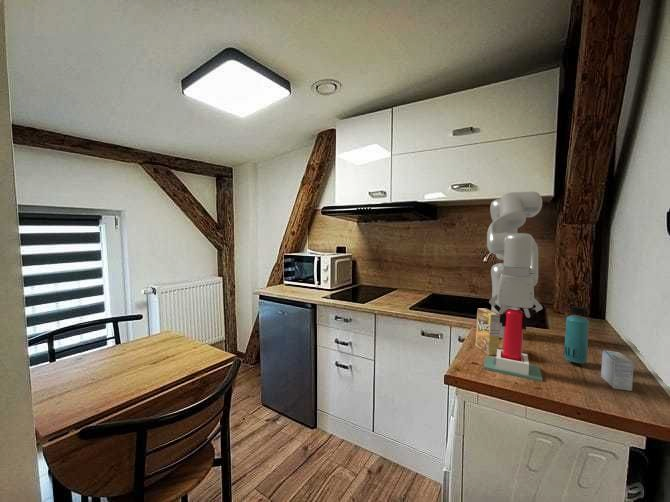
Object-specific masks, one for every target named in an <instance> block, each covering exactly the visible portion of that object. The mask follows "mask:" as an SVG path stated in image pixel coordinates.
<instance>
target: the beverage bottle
mask: <svg viewBox="0 0 670 502" xmlns="http://www.w3.org/2000/svg"><path fill="white" fill-rule="evenodd" d="M570 313H571V314H570V315H569V316H567V317H566V318H565V320H566V321H565V329H564V341H563V342H564V345H563V357H564V359H565V360H567V361H569V362H572V363H575V364H576V363H577V364H586V363H587V360H588V350H589V349H588V348H589V327H590V320H589V319H588V318H586V317H585V316H583V315H587V313H586V308H585V307H583V306H577V305H572V306H570Z"/></svg>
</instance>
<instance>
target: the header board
mask: <svg viewBox="0 0 670 502" xmlns="http://www.w3.org/2000/svg"><path fill="white" fill-rule="evenodd" d="M502 355H503V349H497V355H493V356H490V355H485V356H484V362H483V370H486V371H492V372H495V373H496V372H497V373H501V374H504V375H510V376H514V377H517V378H518V377H519V378H523V379H529V380H533V381H538V382H541V383H542V382H543V376H542V371H541V368H540V366H538V365H534V364H530V361H529V357H528V353H523V352H522V362H521V361H516V360H510V359H505V358H502Z"/></svg>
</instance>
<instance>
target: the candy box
mask: <svg viewBox="0 0 670 502" xmlns="http://www.w3.org/2000/svg"><path fill="white" fill-rule="evenodd" d="M476 309H477V312H476V331H475V347H477V348H478V349H480V350H481V351H483V352H484V353H486V354H487V356H497V349H499V347H500V345H499V344H500V338H499V333H500V314H498V313H496V312H493V311H491V309H489V308H487V307H485V308H481V307H480V308H476Z"/></svg>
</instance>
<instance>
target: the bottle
mask: <svg viewBox="0 0 670 502" xmlns="http://www.w3.org/2000/svg"><path fill="white" fill-rule="evenodd" d="M524 314H525V312H523V311H522V310H521V308H516V307H509V309H507V310H505V322H504V335H503V338H502V339H503V341H502V350H503V355H502V358H505V359H510V360H516V361H521V362H522V353H523V342H524V341H523V339H524V329H523V323H524Z"/></svg>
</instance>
